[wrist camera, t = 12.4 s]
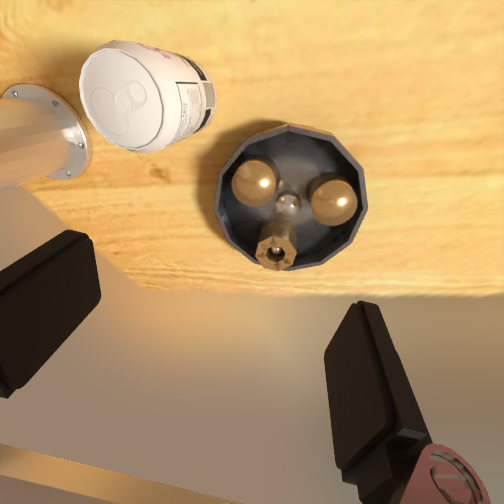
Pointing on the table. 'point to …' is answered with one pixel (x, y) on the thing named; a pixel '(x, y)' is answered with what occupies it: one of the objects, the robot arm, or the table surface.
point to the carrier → (292, 193)
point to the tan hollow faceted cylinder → (280, 237)
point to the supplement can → (145, 95)
